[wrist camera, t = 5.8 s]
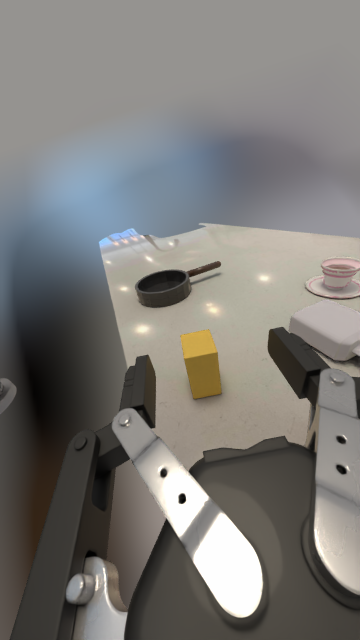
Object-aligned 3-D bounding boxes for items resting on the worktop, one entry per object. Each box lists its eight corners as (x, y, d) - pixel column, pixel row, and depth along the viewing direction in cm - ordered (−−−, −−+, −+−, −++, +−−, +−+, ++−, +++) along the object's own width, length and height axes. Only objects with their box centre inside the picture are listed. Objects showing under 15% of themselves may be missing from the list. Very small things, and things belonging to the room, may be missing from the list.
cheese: (221, 393, 30) (217, 352, 25) (193, 399, 30) (184, 358, 25) (213, 369, 34) (209, 329, 29) (189, 374, 34) (180, 334, 29)
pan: (147, 314, 54) (142, 300, 51) (134, 292, 67) (130, 280, 64) (200, 294, 58) (198, 280, 55) (178, 277, 71) (176, 265, 68)
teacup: (367, 303, 41) (378, 275, 38) (301, 295, 48) (306, 271, 44) (364, 278, 49) (374, 254, 45) (308, 275, 55) (312, 253, 52)
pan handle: (187, 279, 62) (186, 273, 61) (184, 277, 64) (183, 271, 62) (222, 267, 65) (222, 261, 64) (219, 265, 67) (218, 259, 66)
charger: (378, 392, 26) (287, 333, 38) (422, 364, 28) (323, 317, 40) (394, 369, 24) (291, 313, 36) (441, 340, 26) (328, 296, 38)
